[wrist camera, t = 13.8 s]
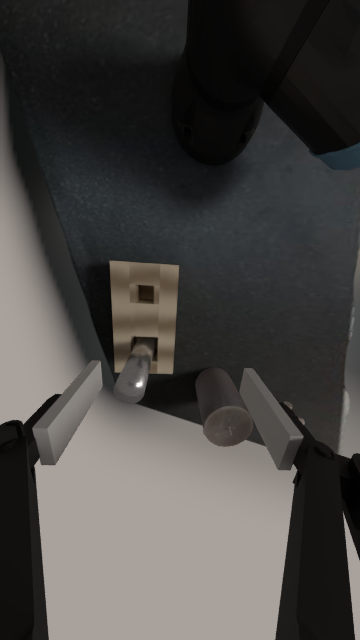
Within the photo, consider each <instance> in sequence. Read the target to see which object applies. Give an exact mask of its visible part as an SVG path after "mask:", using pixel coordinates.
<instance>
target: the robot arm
mask: <svg viewBox="0 0 360 640" xmlns="http://www.w3.org/2000/svg"><path fill="white" fill-rule="evenodd" d="M264 102H265V103H266V104H267V105H268V106H269V107H270V109H271V110H272V111H273V112H274V113H275V114H276V115H277V116H278V117H279V118H280V119H281V120H282V121H283V122H284V123H285V124H286V125H287V126H288V127H289V128H290V129H291V130H292V131H293V132H294V133H295V134H296V135H297V136H298V138H299V139H300V140H301V141H302V142H303V143H304V144H305V145H306V146H307V147H308V148H309V149H310V150H309V152H310V153H311V154H312V155H313V156H314V157H317V158H320V159H321V160H322V161H323V162H324V163H325V164H326V165H327V166H328V167H330V168H331V169H333V170H351V169H355V168H358V167H360V0H188V18H187V37H186V45H185V48H184V51H183V54H182V57H181V60H180V63H179V66H178V69H177V72H176V75H175V79H174V84H173V90H172V120H173V125H174V129H175V133H176V135H177V138H178V140H179V142H180V144H181V145H182V147H183V148H184V150H185V151H186V152H187V153H188V154H189V155H190V156H191V157H192V158H194V159H195V160H197V161H199V162H201V163H204V164H208V165H219V164H223V163H226V162H229V161H231V160H232V159H234V158H235V157H237V156H238V155H239V154H240V153H241V152H242V151H243V150H244V148H245V147H246V146H247V144H248V142H249V141H250V139H251V137H252V136H253V134H254V132H255V130H256V128H257V126H258V123H259V120H260V117H261V114H262V109H263V105H264ZM101 374H102V373H101V361H94V360H92V361H91V362H90V363H89V364H88V365H87V366H86V368H85V369H84V370H83V371H82V372H81V373H80V375H79V376H78V377H77V378H76V379H75V380H74V381H73V382H72V383H71V385H70V386H69V387H68V388H67V389H66V390H65V391H64V393H63V394H55V395H53V396H52V397H50V398H49V399H48V400H46V402H45V403H44V404H43V405H42V406H41V407H40V408H39V409H38V410H37V412H35V413H34V414H33V415H32V416H31V417H30V418H29V419H28V420H27V421H26V422H25V423H24V425H23V423H22V422H21V421H19V420H12V421H8V422H5V423H3V424H1V425H0V640H49V637H48V625H47V613H46V600H45V588H44V576H43V563H42V550H41V538H40V526H39V513H38V501H37V489H36V476H35V467H34V465H35V463H36V462H37V461H38V459H39V458H40V462H41V465H55V464H56V463H57V461H58V460H59V458H60V456H61V455H62V453H63V451H64V450H65V448H66V446H67V445H68V443H69V441H70V440H71V438H72V436H73V435H74V433H75V431H76V430H77V428H78V426H79V425H80V423H81V421H82V420H83V418H84V417H85V415H86V413H87V411H88V410H89V408H90V407H91V405H92V403H93V401H94V400H95V398H96V397H97V395H98V393H99V392H100V390H101V388H102V375H101ZM239 393H240V395H241V397H242V399H243V401H244V403H245V405H246V407H247V409H248V411H249V413H250V415H251V417H252V419H253V421H254V423H255V425H256V427H257V429H258V431H259V433H260V435H261V437H262V439H263V441H264V443H265V445H266V447H267V449H268V451H269V452H270V455H271V457H272V458H273V460H274V463H275V464H276V466H277V469H278V470H291V467H292V465H293V464H294V465H295V467H296V468H297V470H298V471H297V473H296V476H295V478H294V480H293V483H294V484H295V486H294V494H293V502H292V511H291V518H290V527H289V535H288V543H287V551H286V559H285V567H284V575H283V583H282V590H281V598H280V607H279V615H278V623H277V631H276V639H275V640H355V634H354V624H353V613H352V602H351V593H350V582H349V571H348V561H347V550H346V539H345V529H344V518H343V512H344V515H345V518H346V521H347V524H348V527H349V530H350V533H351V536H352V539H353V542H354V545H355V548H356V550H357V554H358V557H359V560H360V454H358V453H356V454H353V456H352V458H351V459H350V458H347V457H344V456H341V455H337V454H335V453H334V452H333V450H331V449H330V448H329V447H328V446H327V445H325V444H323V443H322V442H319V441H316V440H315V438H314V437H313V436H312V435H311V433H310V432H309V431H308V430H307V428H306V427H305V426H304V425H303V424H302V422H301V421H299V419H298V417H297V416H295V414H294V412H293V411H292V410H291V409H290V408H289V407H288V406H287V405H285V404H284V403H278V402H277V400H276V399H275V398H274V396H273V395H272V394H271V392H270V391H269V390H268V388H267V387H266V386H265V384H264V383H263V382H262V380H261V379H260V378H259V376H258V375H257V374H256V372H255V371H254V370H253V368H244V373H243V377H242V382H241V387H240V391H239Z"/></svg>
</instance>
